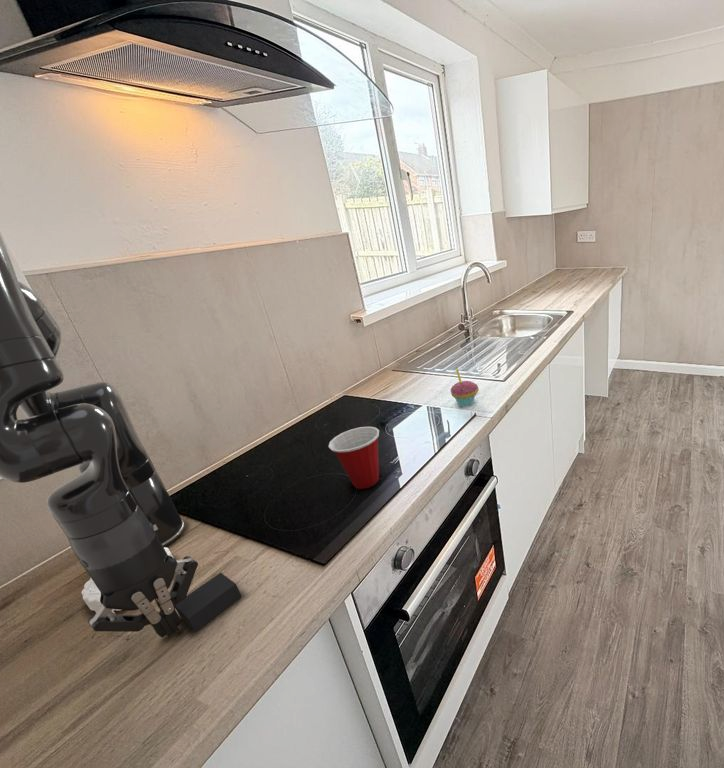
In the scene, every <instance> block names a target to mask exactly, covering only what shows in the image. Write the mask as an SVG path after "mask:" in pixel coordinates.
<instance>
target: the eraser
mask: <svg viewBox="0 0 724 768" xmlns="http://www.w3.org/2000/svg"><path fill="white" fill-rule="evenodd" d="M242 597H243V596H242V593H241V591H240V589H239V587H238V586H237V584H236V582H234V581H233V580H231V579H230V578H229V577H227V576H226V575H225V574H224V573H222V572H219V573H217V574H216V575H214V576H212V577H211V579H209V580H207V581H206V582H205V583H203V584H202V585H200V586H199V587H197V588H196V589H194V590H193V591H191V592H190V593H189V594H187V596H186V598H185V600H183V601H182V602H179V603H178V604H177V605H176V607H175V611H176V612H177V614H178V616H179V617H180V619H181V620H182V621H183V622H185V623H186V624H187V625H188V626H189V628H191V630H193V631H194V632H196V633H197V632H198V631H199V630H200V629H202V628H203V627H204V626H206V625H207V624H208V623H210V622H211V621H212V620H213V619H215V618H216V617H217V616H219V615H220V614H221V613H223V612H224V611H226V609H228V608H229V607H230V606H231V605H233V604H234V603H236V602H237V601H238V600H240V599H241V598H242Z"/></svg>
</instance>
